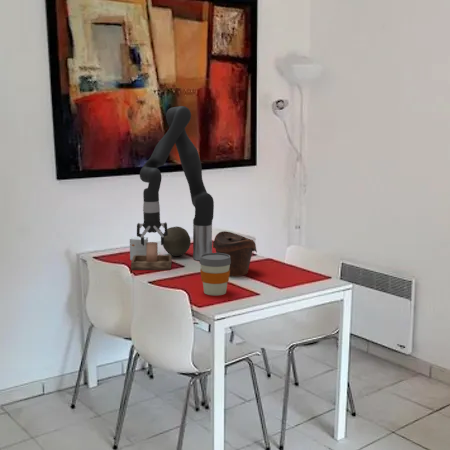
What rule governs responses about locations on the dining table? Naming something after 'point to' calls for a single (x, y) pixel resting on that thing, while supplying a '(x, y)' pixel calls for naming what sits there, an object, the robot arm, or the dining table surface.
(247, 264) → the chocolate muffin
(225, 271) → the reusable coffee cup
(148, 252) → the tan round cylinder
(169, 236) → the cantaloupe
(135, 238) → the small box
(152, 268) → the tray
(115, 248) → the dining table surface
